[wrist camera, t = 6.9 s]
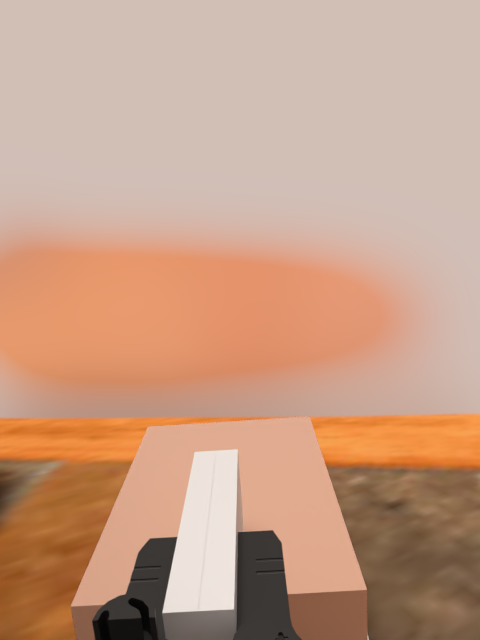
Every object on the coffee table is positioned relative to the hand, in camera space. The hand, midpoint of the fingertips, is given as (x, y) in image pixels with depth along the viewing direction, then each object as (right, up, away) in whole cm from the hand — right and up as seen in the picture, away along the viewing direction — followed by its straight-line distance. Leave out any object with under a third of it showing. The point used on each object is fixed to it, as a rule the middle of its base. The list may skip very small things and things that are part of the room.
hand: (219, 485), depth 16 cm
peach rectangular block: (0, -5, -2) cm, 5 cm away
